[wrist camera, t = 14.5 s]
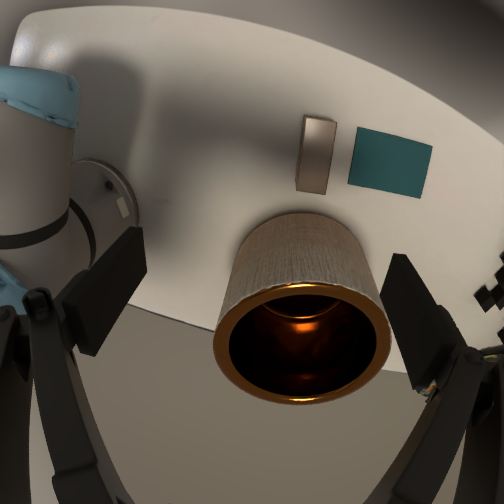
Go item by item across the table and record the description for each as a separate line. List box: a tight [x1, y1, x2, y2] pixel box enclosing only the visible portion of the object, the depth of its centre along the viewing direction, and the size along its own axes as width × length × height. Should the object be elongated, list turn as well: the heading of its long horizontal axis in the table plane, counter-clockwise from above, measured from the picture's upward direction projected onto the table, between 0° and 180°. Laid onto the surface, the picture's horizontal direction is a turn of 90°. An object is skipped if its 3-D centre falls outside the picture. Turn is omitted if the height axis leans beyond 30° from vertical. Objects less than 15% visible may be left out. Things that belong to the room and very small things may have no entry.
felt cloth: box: [348, 127, 432, 199], centre depth 33 cm, size 10×7×1 cm
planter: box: [213, 213, 392, 405], centre depth 35 cm, size 18×18×16 cm
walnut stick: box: [295, 115, 337, 195], centre depth 32 cm, size 8×3×4 cm, turn 175°
